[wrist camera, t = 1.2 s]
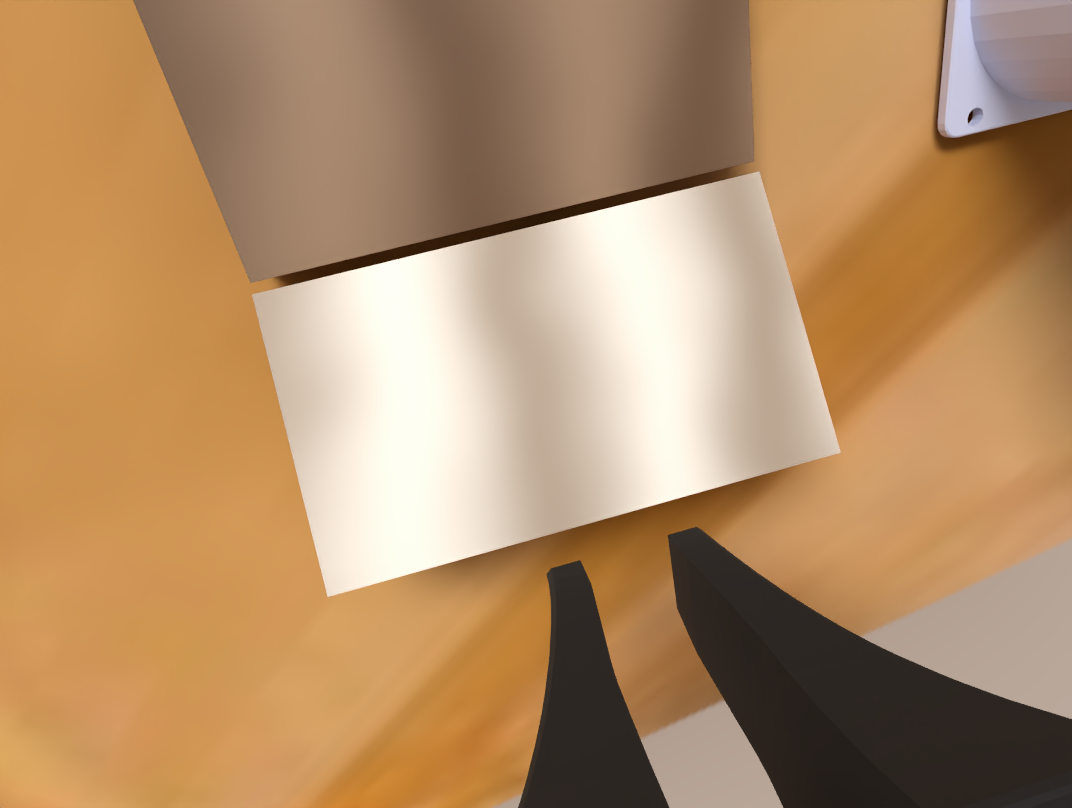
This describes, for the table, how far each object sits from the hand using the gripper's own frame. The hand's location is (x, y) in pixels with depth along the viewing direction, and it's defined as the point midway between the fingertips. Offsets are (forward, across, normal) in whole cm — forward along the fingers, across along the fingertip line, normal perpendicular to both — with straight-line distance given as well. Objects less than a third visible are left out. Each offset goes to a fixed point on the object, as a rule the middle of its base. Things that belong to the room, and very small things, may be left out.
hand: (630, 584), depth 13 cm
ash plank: (+7, 0, -1) cm, 7 cm away
